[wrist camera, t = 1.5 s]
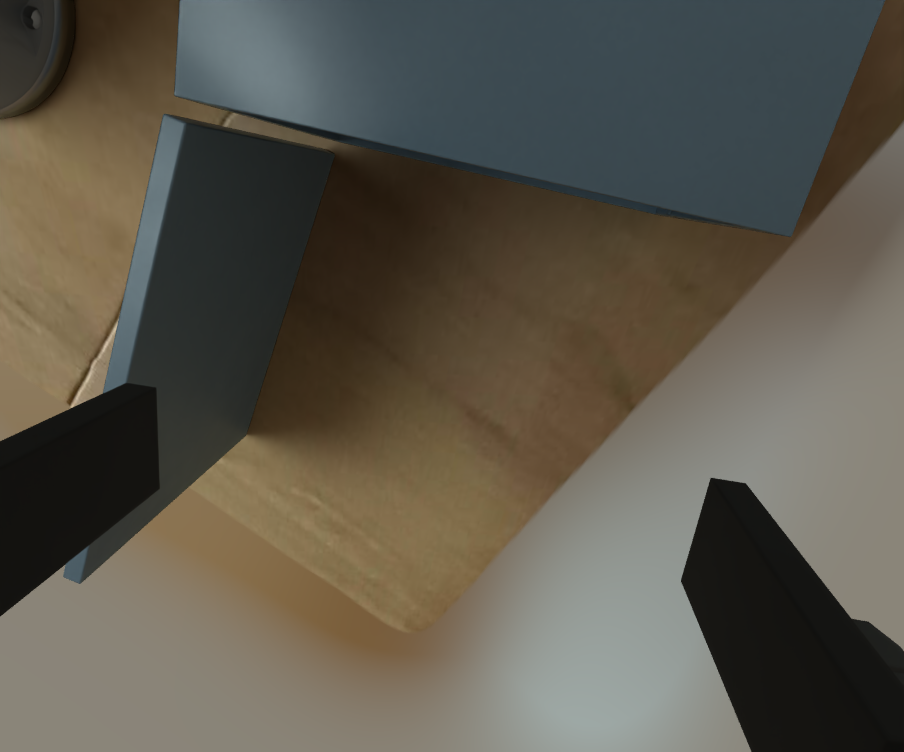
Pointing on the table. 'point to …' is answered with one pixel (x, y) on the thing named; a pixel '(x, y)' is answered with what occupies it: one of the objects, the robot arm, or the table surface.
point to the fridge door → (207, 296)
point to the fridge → (553, 90)
